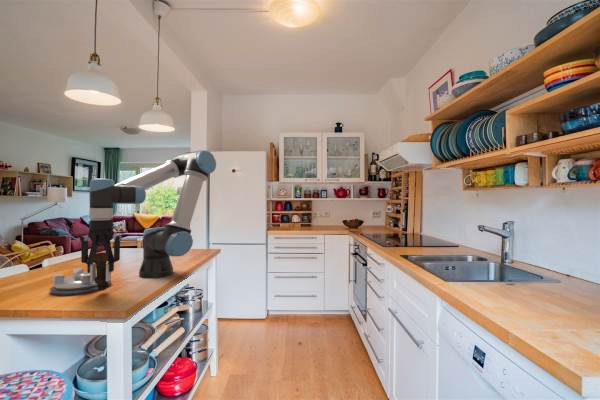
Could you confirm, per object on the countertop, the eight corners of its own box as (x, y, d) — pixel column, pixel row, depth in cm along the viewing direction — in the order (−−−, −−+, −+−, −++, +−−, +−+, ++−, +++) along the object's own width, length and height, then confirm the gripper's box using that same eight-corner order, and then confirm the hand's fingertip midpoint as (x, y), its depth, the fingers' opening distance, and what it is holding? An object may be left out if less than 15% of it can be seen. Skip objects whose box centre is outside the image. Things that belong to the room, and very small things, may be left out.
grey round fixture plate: (101, 275, 131) (102, 265, 131) (113, 283, 119) (113, 271, 119) (50, 284, 117) (50, 272, 117) (57, 293, 105) (57, 280, 105)
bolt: (91, 291, 109) (87, 257, 104) (101, 283, 114) (98, 250, 108) (105, 294, 109) (102, 261, 104) (114, 286, 114) (112, 254, 108)
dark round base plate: (118, 280, 130) (118, 276, 130) (98, 293, 111) (98, 289, 111) (67, 282, 125) (67, 278, 126) (37, 297, 106) (37, 293, 106)
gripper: (130, 218, 114) (129, 277, 114) (80, 218, 110) (79, 279, 110) (123, 219, 107) (122, 282, 106) (69, 220, 103) (68, 285, 102)
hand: (100, 280), depth 108 cm, fingers closed on bolt, 4 cm apart
